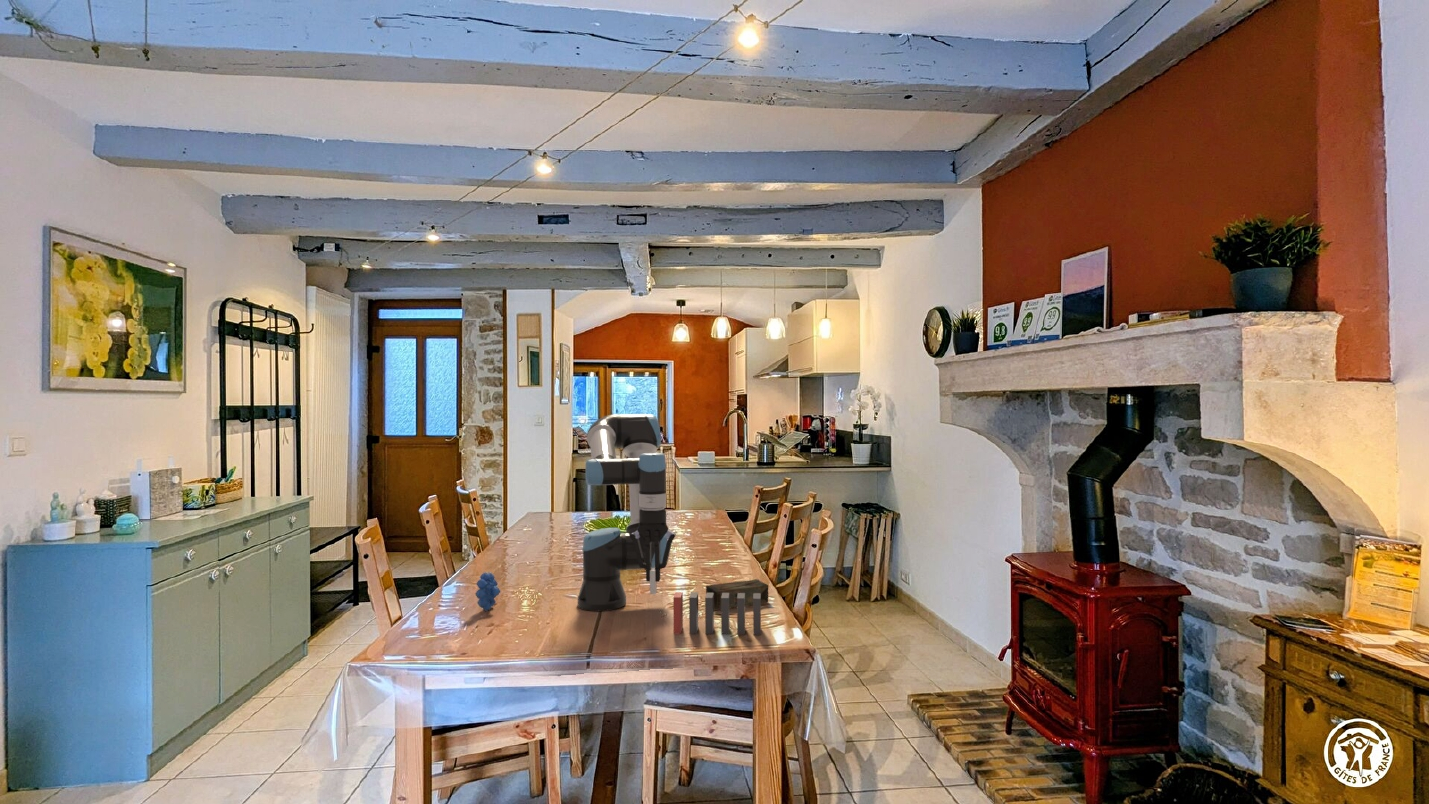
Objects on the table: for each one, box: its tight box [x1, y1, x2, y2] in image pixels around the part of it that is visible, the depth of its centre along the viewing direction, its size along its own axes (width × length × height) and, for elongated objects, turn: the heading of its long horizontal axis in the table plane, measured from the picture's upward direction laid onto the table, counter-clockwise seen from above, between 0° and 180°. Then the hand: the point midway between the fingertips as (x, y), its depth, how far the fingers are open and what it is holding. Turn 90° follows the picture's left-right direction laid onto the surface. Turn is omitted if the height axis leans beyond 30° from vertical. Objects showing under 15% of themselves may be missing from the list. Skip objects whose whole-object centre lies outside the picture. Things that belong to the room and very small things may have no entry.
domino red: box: [672, 591, 684, 635], centre depth 192 cm, size 2×5×10 cm, turn 176°
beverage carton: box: [705, 578, 769, 612], centre depth 216 cm, size 8×19×7 cm, turn 116°
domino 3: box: [720, 593, 730, 635], centre depth 191 cm, size 2×5×10 cm, turn 176°
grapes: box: [475, 572, 501, 612], centre depth 210 cm, size 12×7×12 cm, turn 173°
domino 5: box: [752, 593, 762, 636], centre depth 190 cm, size 2×5×10 cm, turn 176°
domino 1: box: [688, 592, 699, 635], centre depth 191 cm, size 2×5×10 cm, turn 176°
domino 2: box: [704, 592, 715, 635], centre depth 191 cm, size 2×5×10 cm, turn 176°
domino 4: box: [736, 593, 746, 636], centre depth 190 cm, size 2×5×10 cm, turn 176°
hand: (653, 592), depth 191 cm, fingers closed
